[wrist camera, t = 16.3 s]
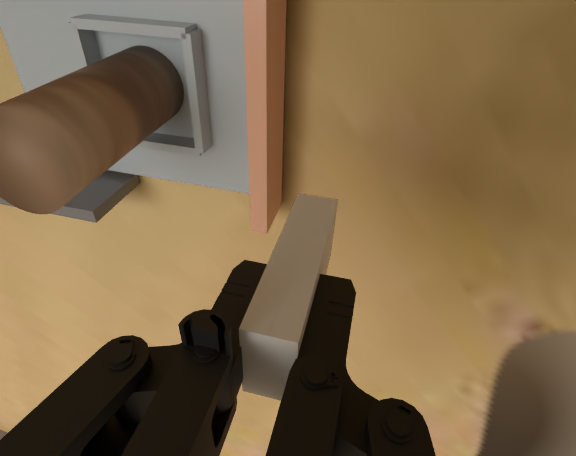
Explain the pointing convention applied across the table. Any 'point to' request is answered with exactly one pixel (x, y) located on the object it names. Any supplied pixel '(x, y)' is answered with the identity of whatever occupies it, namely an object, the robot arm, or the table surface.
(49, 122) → the wooden dowel
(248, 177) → the tray
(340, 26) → the table surface
